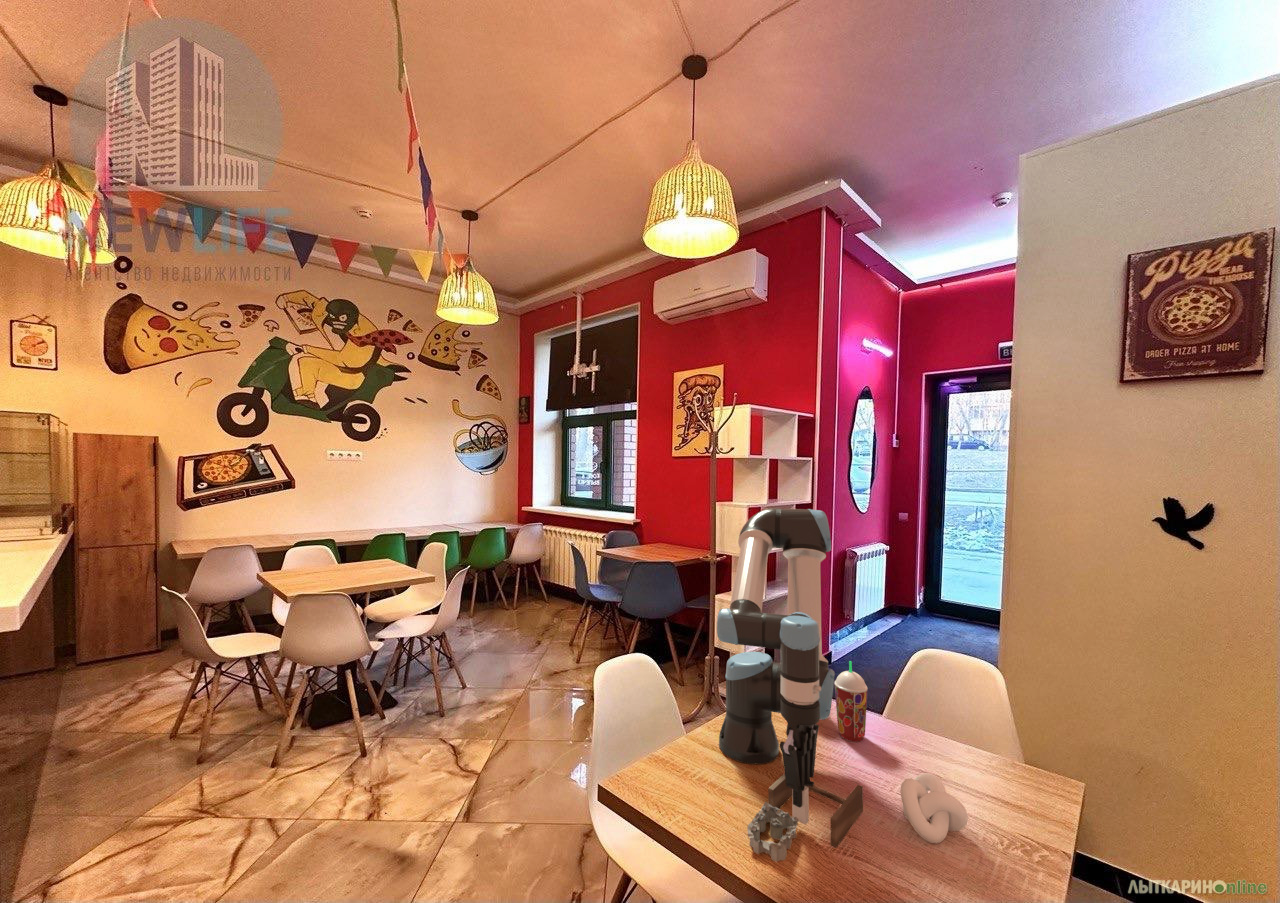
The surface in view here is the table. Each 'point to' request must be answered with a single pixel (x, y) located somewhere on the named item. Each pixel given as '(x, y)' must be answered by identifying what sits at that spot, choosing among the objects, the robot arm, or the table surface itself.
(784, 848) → the egg carton
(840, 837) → the brown u-shaped frame
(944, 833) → the white knot sculpture
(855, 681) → the smoothie
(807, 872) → the table surface
